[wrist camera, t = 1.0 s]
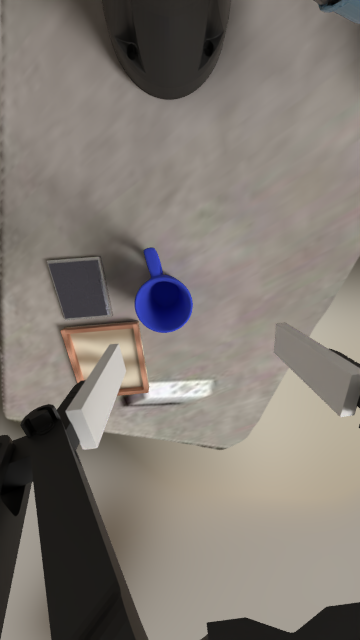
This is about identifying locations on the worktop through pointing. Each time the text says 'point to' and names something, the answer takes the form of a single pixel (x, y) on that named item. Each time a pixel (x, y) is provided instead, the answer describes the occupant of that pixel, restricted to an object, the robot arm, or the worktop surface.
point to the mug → (162, 299)
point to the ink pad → (81, 287)
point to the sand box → (93, 342)
